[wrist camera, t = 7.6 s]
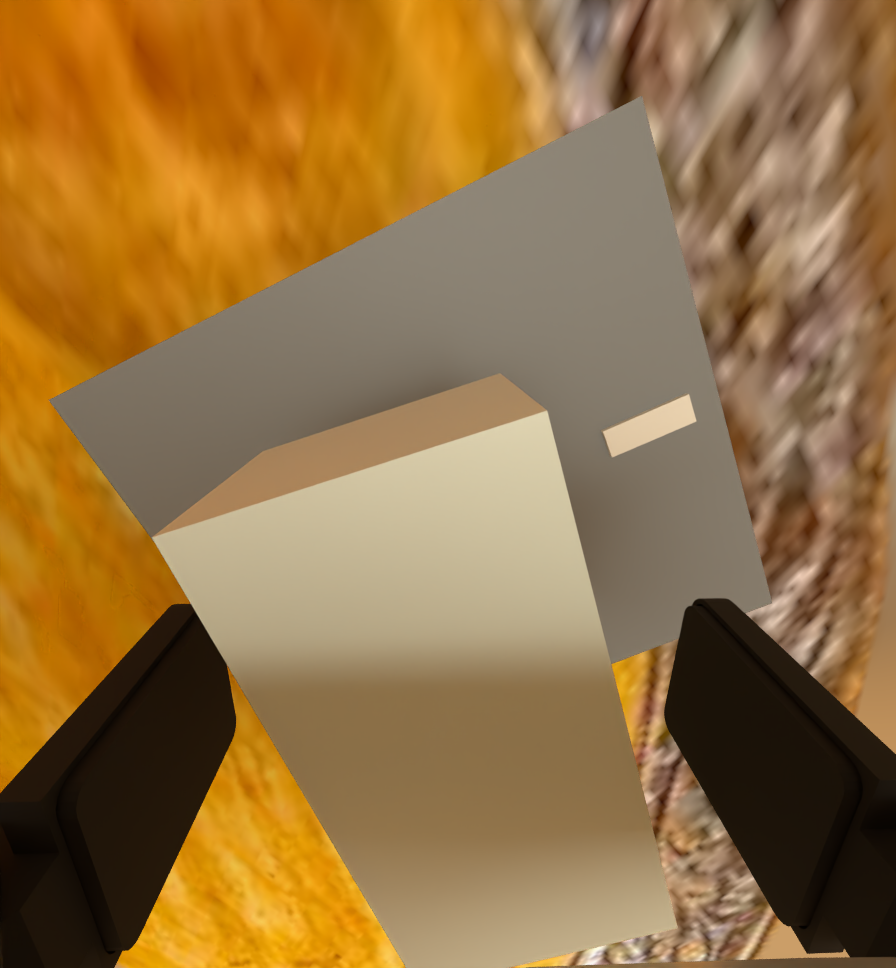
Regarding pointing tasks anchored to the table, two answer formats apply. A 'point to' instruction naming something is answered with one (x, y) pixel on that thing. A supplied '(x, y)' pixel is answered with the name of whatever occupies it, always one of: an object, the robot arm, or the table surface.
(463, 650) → the cream rectangular block
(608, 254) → the base plate
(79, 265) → the table surface
